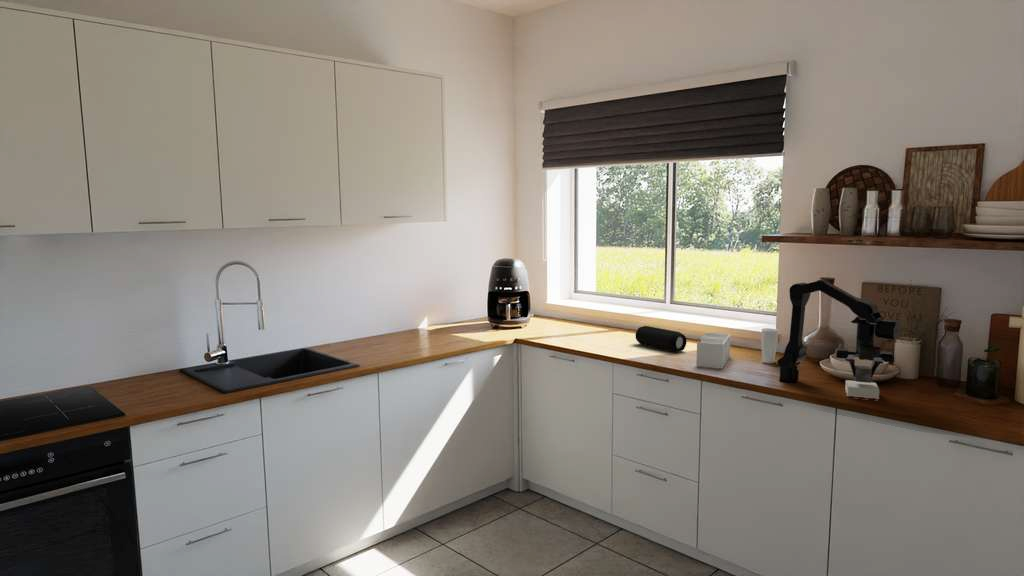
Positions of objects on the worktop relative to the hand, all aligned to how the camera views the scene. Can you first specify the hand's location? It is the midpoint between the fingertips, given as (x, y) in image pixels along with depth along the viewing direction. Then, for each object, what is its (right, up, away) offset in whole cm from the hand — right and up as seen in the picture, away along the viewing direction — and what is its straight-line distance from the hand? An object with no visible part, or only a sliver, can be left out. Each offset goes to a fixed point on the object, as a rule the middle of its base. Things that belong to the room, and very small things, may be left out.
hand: (862, 377), depth 238 cm
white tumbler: (-14, -1, +52) cm, 54 cm away
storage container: (-38, -1, +54) cm, 66 cm away
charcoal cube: (0, -1, 0) cm, 1 cm away
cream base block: (0, -7, +1) cm, 7 cm away
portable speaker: (-56, +3, +82) cm, 99 cm away
